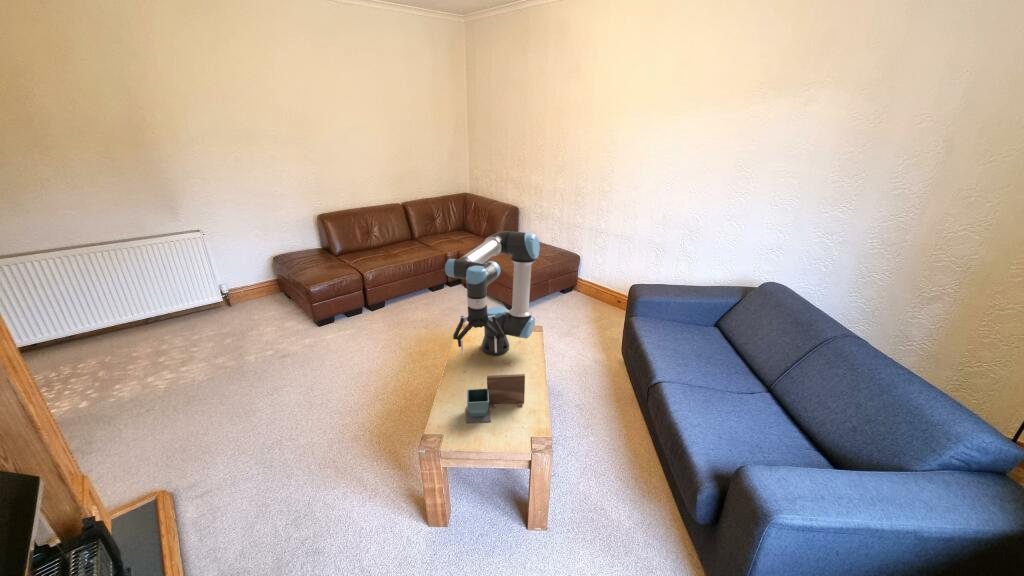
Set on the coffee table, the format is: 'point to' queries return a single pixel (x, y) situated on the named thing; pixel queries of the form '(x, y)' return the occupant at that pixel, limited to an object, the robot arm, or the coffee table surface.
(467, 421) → the mat
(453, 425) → the coffee table surface
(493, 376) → the screen
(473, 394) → the flower pot
